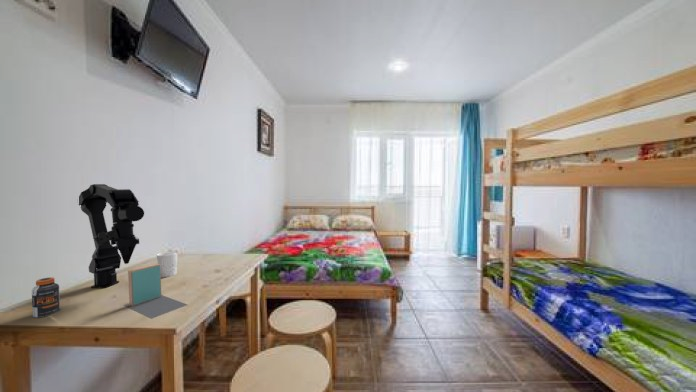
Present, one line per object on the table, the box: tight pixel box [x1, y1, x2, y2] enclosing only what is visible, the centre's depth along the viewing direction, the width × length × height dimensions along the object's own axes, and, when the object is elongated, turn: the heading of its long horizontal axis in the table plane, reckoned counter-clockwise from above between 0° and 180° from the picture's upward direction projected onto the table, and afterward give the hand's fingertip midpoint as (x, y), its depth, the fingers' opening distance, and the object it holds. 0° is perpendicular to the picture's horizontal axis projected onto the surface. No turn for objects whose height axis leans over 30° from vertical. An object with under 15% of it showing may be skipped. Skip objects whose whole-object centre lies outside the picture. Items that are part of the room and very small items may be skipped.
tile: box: [127, 263, 162, 306], centre depth 96 cm, size 2×9×12 cm, turn 150°
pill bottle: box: [31, 277, 61, 318], centre depth 88 cm, size 6×6×11 cm
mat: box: [123, 294, 188, 319], centre depth 93 cm, size 19×11×1 cm, turn 60°
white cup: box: [156, 250, 178, 278], centre depth 125 cm, size 8×8×10 cm
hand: (126, 263), depth 104 cm, fingers closed
